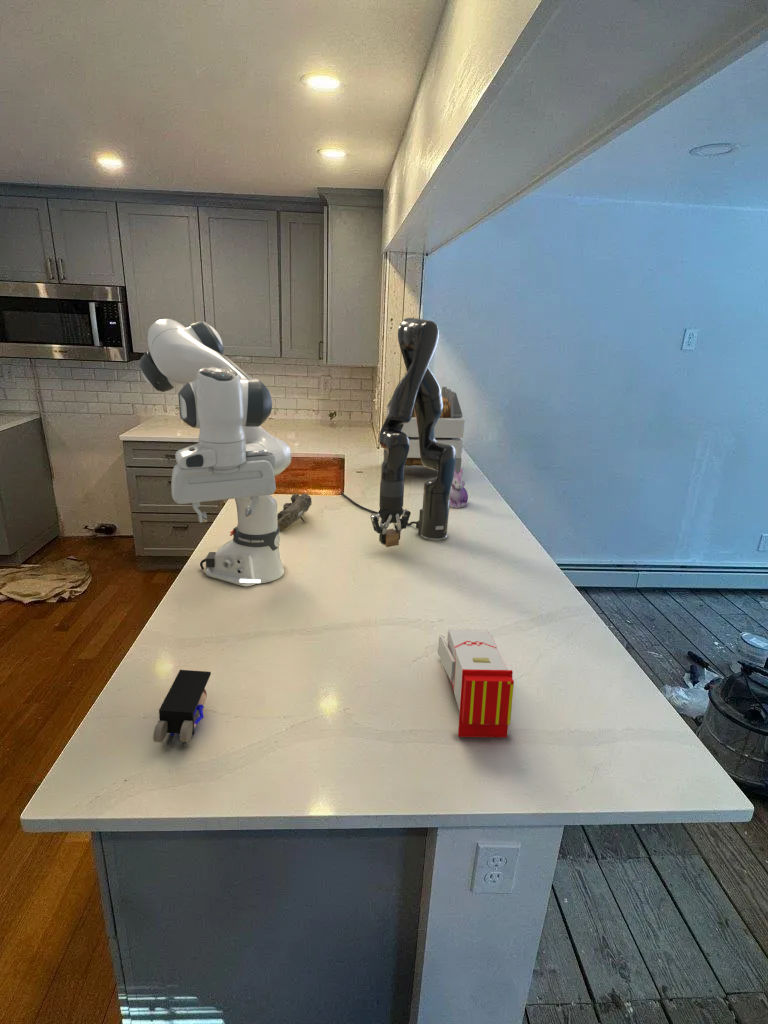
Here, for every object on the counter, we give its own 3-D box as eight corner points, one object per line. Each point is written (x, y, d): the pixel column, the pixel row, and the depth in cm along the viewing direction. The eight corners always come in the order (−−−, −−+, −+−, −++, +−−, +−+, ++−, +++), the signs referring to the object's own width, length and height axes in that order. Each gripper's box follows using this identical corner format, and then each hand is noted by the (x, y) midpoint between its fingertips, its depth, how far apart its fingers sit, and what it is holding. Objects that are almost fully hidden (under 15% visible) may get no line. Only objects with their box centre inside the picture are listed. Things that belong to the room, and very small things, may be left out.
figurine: (454, 509, 226) (458, 473, 221) (440, 502, 235) (443, 467, 229) (474, 507, 230) (477, 471, 225) (459, 499, 239) (463, 465, 234)
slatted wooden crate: (382, 463, 289) (386, 382, 275) (445, 464, 293) (451, 384, 279) (390, 482, 257) (394, 392, 243) (460, 483, 261) (468, 394, 247)
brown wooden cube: (398, 545, 183) (399, 533, 182) (387, 547, 181) (387, 535, 180) (392, 540, 187) (392, 528, 185) (380, 542, 185) (380, 530, 183)
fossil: (280, 499, 216) (309, 478, 211) (296, 518, 219) (326, 498, 214) (263, 525, 196) (295, 503, 191) (282, 546, 199) (314, 524, 194)
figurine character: (193, 760, 99) (215, 697, 113) (188, 728, 96) (211, 667, 109) (154, 759, 99) (181, 696, 113) (148, 727, 96) (176, 666, 109)
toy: (488, 613, 130) (523, 677, 101) (484, 667, 133) (517, 744, 104) (435, 612, 130) (455, 676, 101) (432, 666, 133) (451, 743, 103)
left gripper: (270, 445, 118) (272, 508, 123) (166, 452, 110) (172, 519, 114) (279, 453, 113) (280, 517, 118) (171, 460, 104) (177, 530, 109)
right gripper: (405, 486, 184) (402, 535, 190) (366, 491, 177) (364, 541, 183) (417, 493, 178) (414, 543, 184) (377, 498, 171) (375, 550, 177)
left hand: (226, 518), depth 116 cm, fingers open, 8 cm apart
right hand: (389, 542), depth 184 cm, fingers closed on brown wooden cube, 4 cm apart
